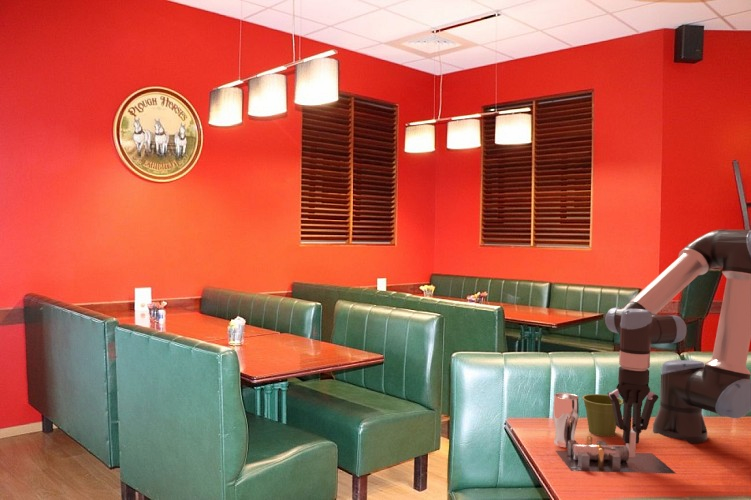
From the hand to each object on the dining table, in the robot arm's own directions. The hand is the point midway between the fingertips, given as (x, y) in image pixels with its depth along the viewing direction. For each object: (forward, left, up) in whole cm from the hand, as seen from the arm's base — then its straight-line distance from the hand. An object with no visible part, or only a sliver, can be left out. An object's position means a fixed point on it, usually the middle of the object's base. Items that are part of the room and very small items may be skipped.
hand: (630, 454), depth 165 cm
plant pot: (-1, -24, -3) cm, 24 cm away
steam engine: (+4, 0, -3) cm, 5 cm away
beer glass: (+14, -13, -3) cm, 19 cm away
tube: (+8, 0, -2) cm, 8 cm away
